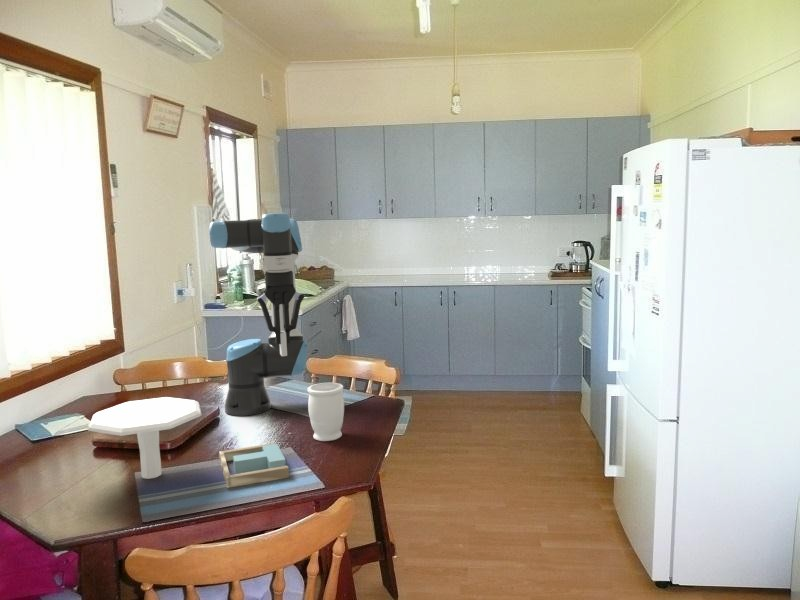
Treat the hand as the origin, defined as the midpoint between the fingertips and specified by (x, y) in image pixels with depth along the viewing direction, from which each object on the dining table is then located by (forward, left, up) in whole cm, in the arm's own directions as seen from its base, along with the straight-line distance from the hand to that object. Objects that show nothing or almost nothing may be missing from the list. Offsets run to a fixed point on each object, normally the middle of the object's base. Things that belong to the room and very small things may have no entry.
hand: (283, 354), depth 177 cm
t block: (+13, -10, -26) cm, 31 cm away
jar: (-2, +12, -26) cm, 29 cm away
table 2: (+6, -36, -26) cm, 45 cm away
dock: (+13, -11, -26) cm, 31 cm away
